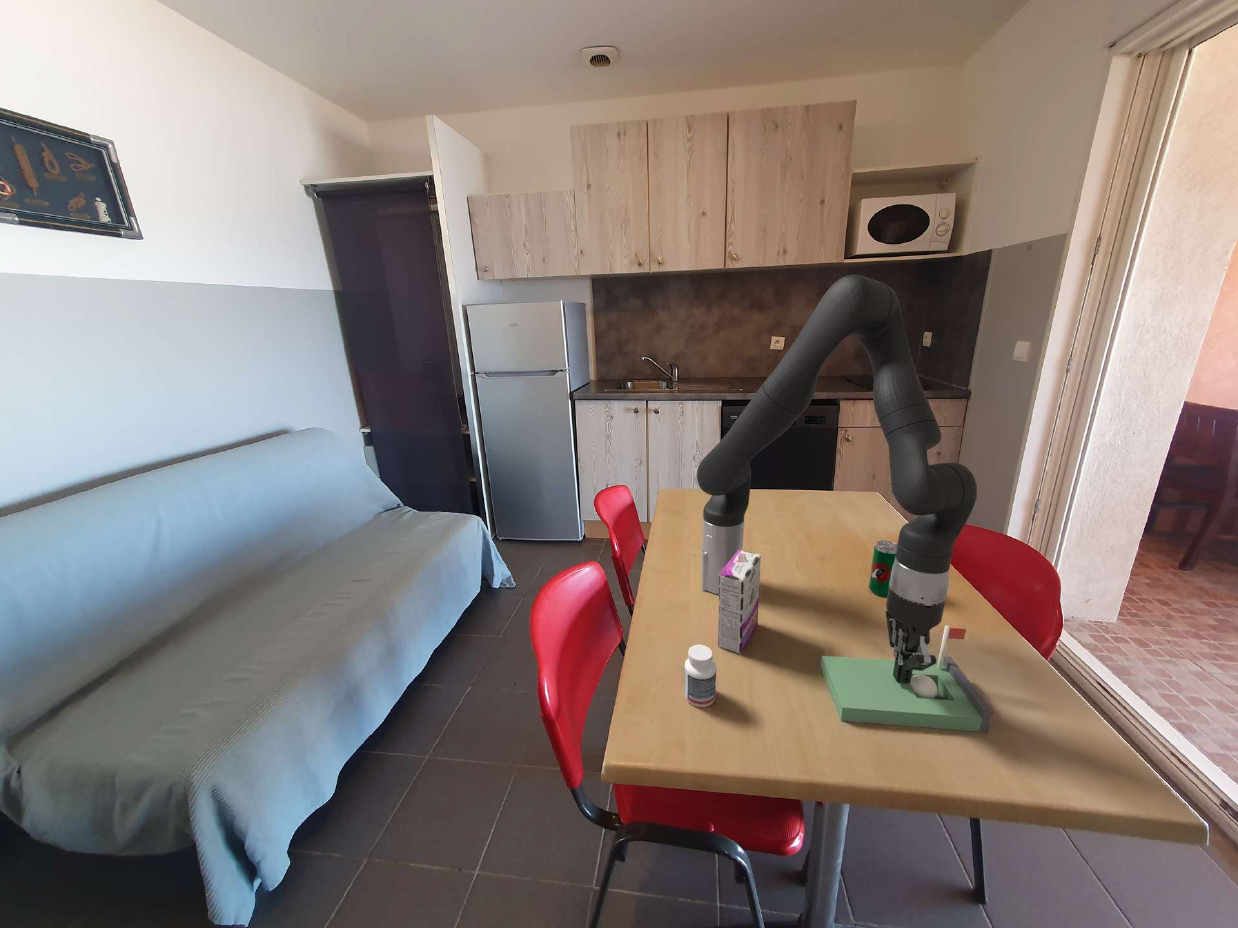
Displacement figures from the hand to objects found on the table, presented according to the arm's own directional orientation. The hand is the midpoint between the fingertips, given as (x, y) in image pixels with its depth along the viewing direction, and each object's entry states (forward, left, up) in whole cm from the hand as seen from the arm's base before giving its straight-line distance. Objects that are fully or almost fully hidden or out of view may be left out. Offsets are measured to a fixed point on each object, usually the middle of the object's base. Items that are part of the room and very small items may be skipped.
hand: (901, 680), depth 79 cm
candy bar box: (-25, +14, -4) cm, 29 cm away
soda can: (+9, +33, -4) cm, 34 cm away
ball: (+3, 0, -1) cm, 4 cm away
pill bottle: (-33, -3, -4) cm, 33 cm away
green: (-1, 0, -3) cm, 3 cm away
